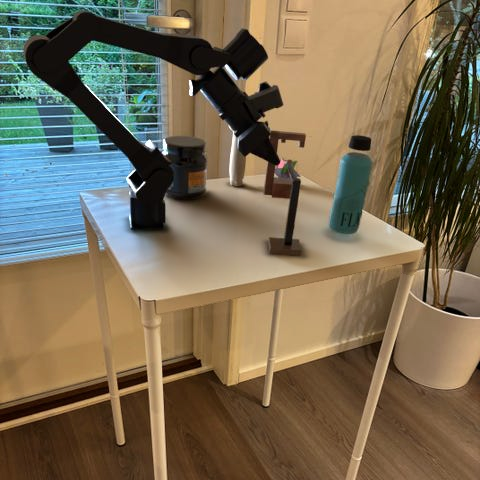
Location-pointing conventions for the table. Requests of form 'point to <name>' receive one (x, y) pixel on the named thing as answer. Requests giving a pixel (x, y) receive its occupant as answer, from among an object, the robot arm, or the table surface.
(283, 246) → the rack
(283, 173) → the geometric puzzle
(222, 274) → the table surface
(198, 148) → the supplement container
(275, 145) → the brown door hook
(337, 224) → the beverage bottle
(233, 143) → the handle
